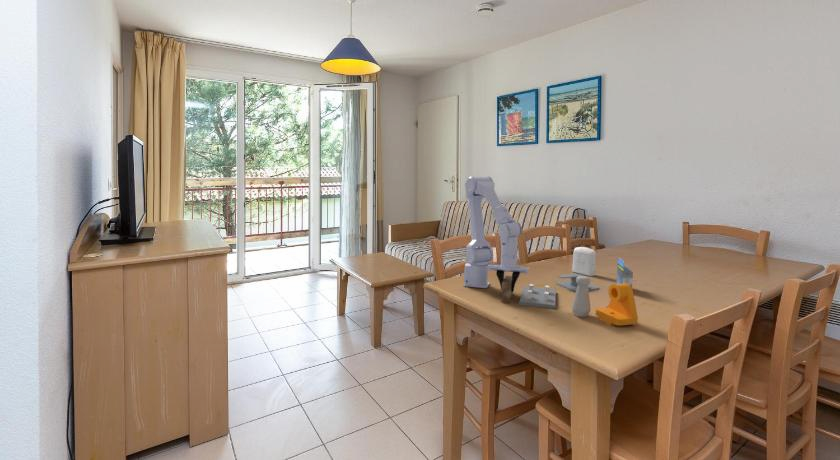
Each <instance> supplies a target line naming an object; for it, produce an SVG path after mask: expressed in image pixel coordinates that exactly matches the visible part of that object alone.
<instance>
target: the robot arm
mask: <svg viewBox="0 0 840 460" xmlns="http://www.w3.org/2000/svg"><path fill="white" fill-rule="evenodd" d="M495 184H496V183H495V182H494V180H493V178H492V177H491V176H469V177H468V178H467V179H466V181H465V183H464V187H465V194H466V195H465V197H466V199H467V206H468V215H469V224H470V225H469V226H470V234H471V235H470V237H471V241H470V242H469V243H468V244H467V245H466V253H465V259H466V261H467V262H466V263H465V265H464V270H463V287H467V288H468V287H469V288H470V287H471V288H482V289H487V288H488V287H489V286H490V283H491V282H489V281H488V277H489V272H490V271H492V272H493V271H496V273H495V274H496V276H497V277H496V278H497V279H498V281H499V286H500V291H502V282H503V280H504V278H505V273H506V272H507V273H511V276H512V288H511V292H513V293H514V290H515V286H516V283H517V281H518V278H519V277H520V275H521V274H526V275H529V273H530V272H529V271H530V267H525V266H520V265H517V263H518V260H517V259H518V241H519V237H520V236H521V235H522V232H523V231H522V229H523V228H522V226H521V222H519V221H517V220H515V219H513V216H512V214H511V213H510V212H509V209H508V208H507V206H505V205H502V203H501V202H500V198H499V197H498V195H497V192H496V190H495V186H496V185H495ZM484 198H485V200H486V201H487V203H488V204H489V205H490V207H491V209H492V213H491V214H492V216H493V218H494V220H495V222H496V224H497V226H498V227H499V228H498V230H497V231H498V236H499V239H500V240H499V241H500V243H501V246H500V247H501V248H500V264H490V263H491V262H492V261H493V259H494V258H493V257H494V253H493V249H492V247H491V243H490V242H489V241H488V240H487V239H486V237H485V228H484V227H485V226H484V217H483V209H482V208H483V207H482V200H483V199H484Z"/></svg>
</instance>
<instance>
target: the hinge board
mask: <svg viewBox="0 0 840 460" xmlns="http://www.w3.org/2000/svg"><path fill="white" fill-rule="evenodd" d="M556 294H557V293H556V289H555V288H554V289H552V288H550V285H545V287H543V288H541V287H534V284H533V283H529V286H523V288H522V291H521V295H520V299H519V306H525V307H526V306H527V307H534V308H536V307H537V308H546V309H556V297H557V296H556Z"/></svg>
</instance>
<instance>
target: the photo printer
mask: <svg viewBox="0 0 840 460" xmlns="http://www.w3.org/2000/svg"><path fill="white" fill-rule="evenodd" d="M572 253H573V254H572V255H573V256H572V268H571V271H572V273H575V274H581V275H583V276H587V277H593V276H594V275H595V270H596V257H597V253H596V250H594V249H592V248H589V247H587V246H578V247H574V249H573V252H572Z"/></svg>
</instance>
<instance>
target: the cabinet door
mask: <svg viewBox="0 0 840 460" xmlns="http://www.w3.org/2000/svg"><path fill="white" fill-rule="evenodd" d="M511 288H512V275H504V280H503V282H502V291H501V290H500V291H501V296H500V297H501V298H500V300H501V301H500V302H501V303H508V304H510V302H511V300H512V297H513V295H514V291H513V292H511Z"/></svg>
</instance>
